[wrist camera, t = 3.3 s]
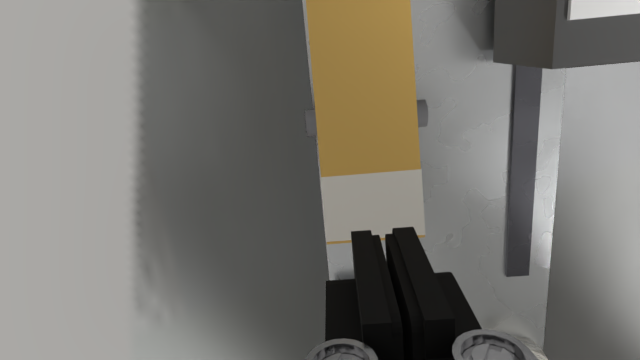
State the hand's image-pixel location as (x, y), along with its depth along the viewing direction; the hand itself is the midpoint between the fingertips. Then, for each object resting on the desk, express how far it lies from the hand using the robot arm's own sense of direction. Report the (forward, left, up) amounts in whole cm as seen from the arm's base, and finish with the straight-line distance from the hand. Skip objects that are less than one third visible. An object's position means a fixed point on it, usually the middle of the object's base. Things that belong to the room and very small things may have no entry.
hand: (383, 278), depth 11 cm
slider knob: (-7, -6, -7) cm, 11 cm away
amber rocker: (0, -3, -6) cm, 7 cm away
